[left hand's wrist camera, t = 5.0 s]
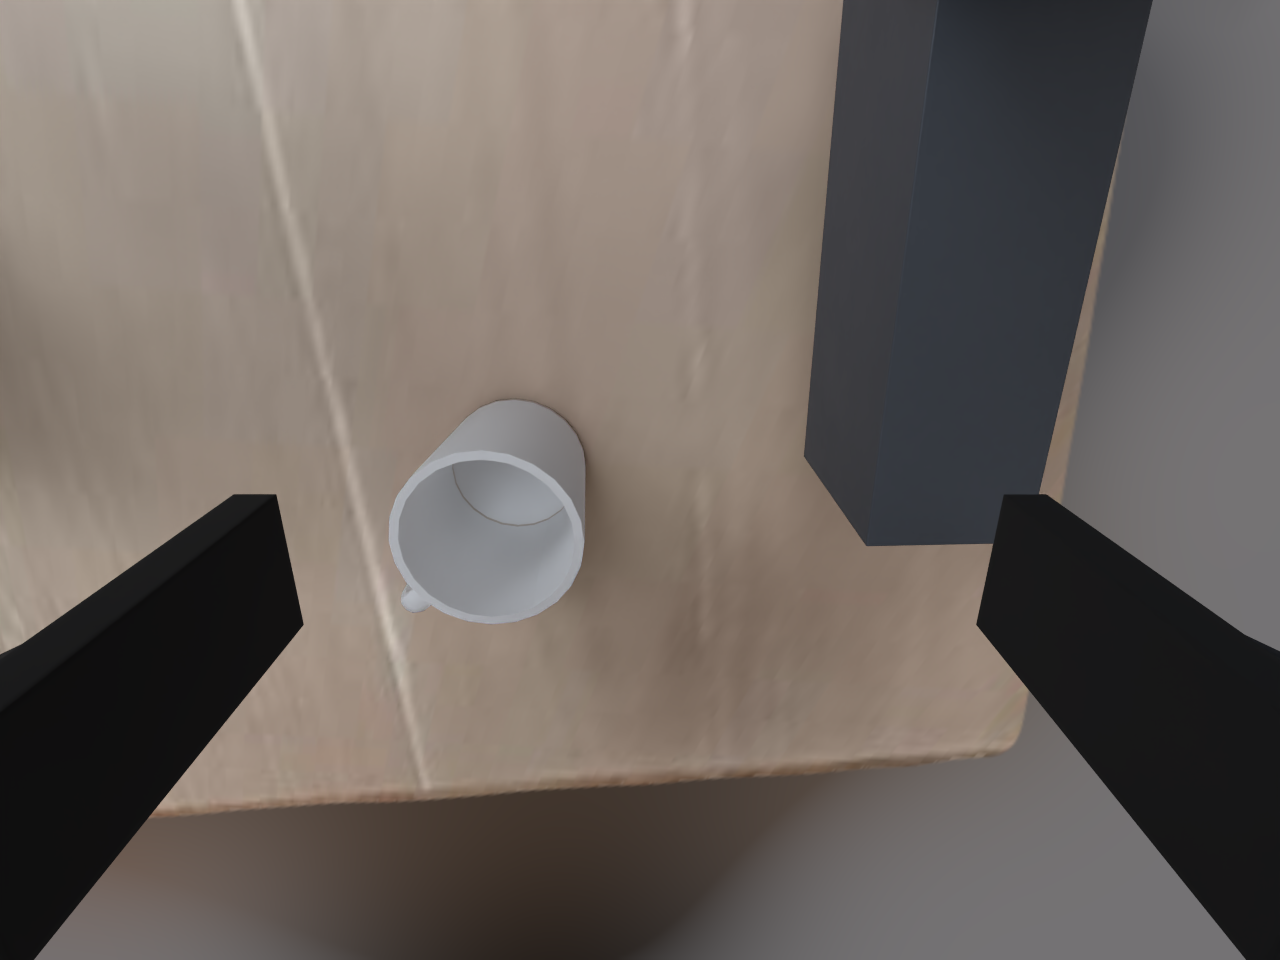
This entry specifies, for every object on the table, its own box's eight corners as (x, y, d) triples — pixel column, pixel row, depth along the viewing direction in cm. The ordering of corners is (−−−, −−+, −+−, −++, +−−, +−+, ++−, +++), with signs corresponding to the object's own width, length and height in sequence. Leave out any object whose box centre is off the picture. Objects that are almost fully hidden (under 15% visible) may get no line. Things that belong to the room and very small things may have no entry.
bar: (924, 454, 31) (1027, 543, 23) (803, 456, 31) (866, 546, 23) (1030, -219, 22) (1256, -448, 14) (862, -219, 22) (996, -449, 14)
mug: (514, 357, 39) (479, 409, 29) (624, 465, 41) (624, 544, 32) (389, 482, 42) (319, 566, 32) (499, 576, 44) (465, 680, 35)
